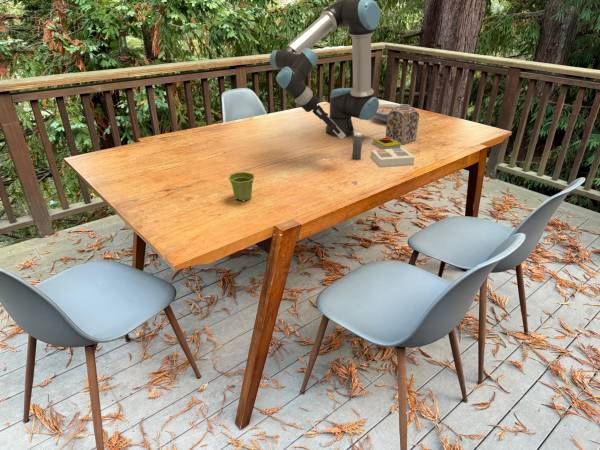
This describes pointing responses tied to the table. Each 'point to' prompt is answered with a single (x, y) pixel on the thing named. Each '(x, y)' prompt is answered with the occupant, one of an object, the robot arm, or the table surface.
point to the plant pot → (242, 185)
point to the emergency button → (386, 143)
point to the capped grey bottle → (357, 145)
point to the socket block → (392, 157)
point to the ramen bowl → (384, 111)
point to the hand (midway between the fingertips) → (339, 132)
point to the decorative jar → (402, 124)
